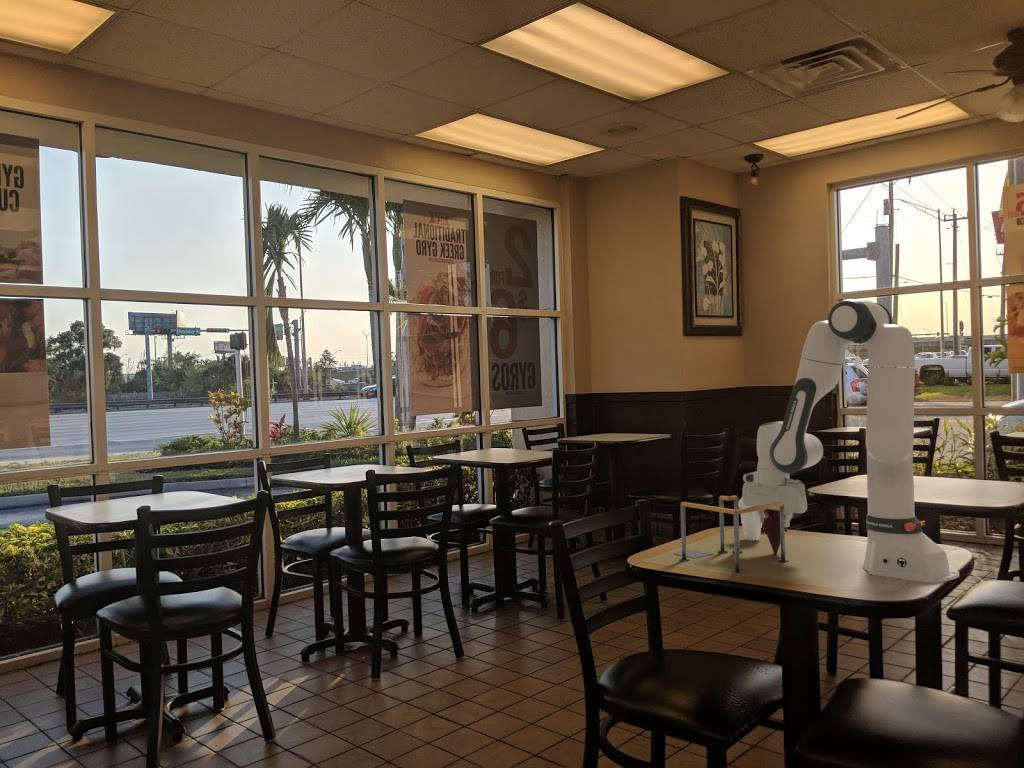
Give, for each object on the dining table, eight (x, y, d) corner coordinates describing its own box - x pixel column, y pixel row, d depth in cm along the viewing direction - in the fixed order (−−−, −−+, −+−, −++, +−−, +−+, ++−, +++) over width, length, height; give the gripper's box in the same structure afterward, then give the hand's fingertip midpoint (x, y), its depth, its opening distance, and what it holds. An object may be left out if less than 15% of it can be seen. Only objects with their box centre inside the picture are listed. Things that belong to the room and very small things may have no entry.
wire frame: (788, 563, 221) (787, 502, 220) (737, 575, 209) (736, 511, 209) (729, 550, 238) (727, 494, 238) (679, 561, 226) (677, 502, 226)
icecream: (794, 555, 229) (792, 503, 229) (772, 558, 227) (770, 505, 227) (779, 551, 236) (777, 500, 236) (757, 553, 234) (756, 502, 233)
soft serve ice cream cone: (733, 538, 256) (732, 488, 256) (756, 535, 258) (754, 486, 258) (748, 543, 248) (747, 491, 248) (771, 540, 250) (770, 489, 250)
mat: (713, 555, 233) (713, 553, 233) (694, 559, 228) (694, 557, 228) (692, 550, 239) (692, 549, 239) (673, 554, 235) (673, 553, 235)
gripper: (811, 479, 224) (812, 528, 224) (752, 473, 241) (753, 518, 241) (797, 481, 221) (798, 531, 221) (738, 475, 238) (739, 521, 238)
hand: (774, 524), depth 231 cm, fingers closed on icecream, 6 cm apart
